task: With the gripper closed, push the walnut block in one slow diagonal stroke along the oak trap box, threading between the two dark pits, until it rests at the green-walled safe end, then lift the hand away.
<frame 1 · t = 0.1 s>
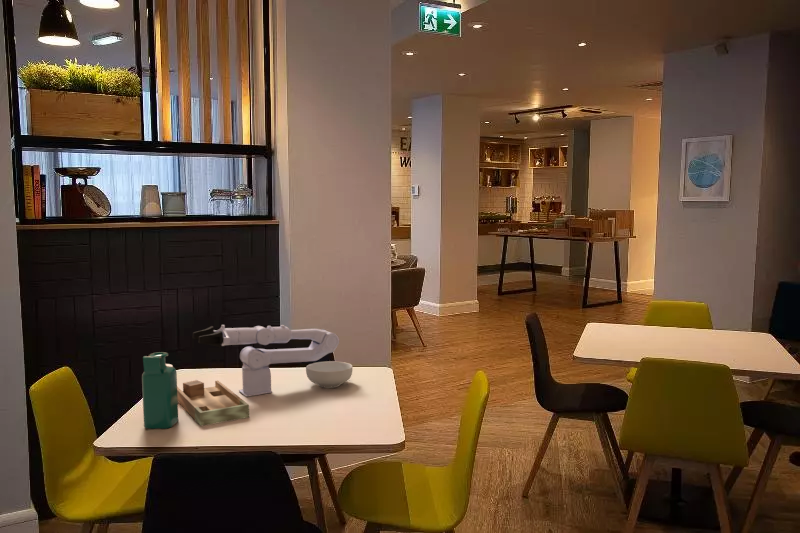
hand: (195, 337, 221), 22 cm above the table, tool horizontal, fingers open, 7 cm apart
trap box: (210, 407, 216), on the table
block: (193, 394, 224), point 2 cm above the table, touching trap box
green bottle: (160, 425, 199), on the table
coffee cup: (162, 413, 211), on the table
cereal bowl: (329, 385, 242), on the table
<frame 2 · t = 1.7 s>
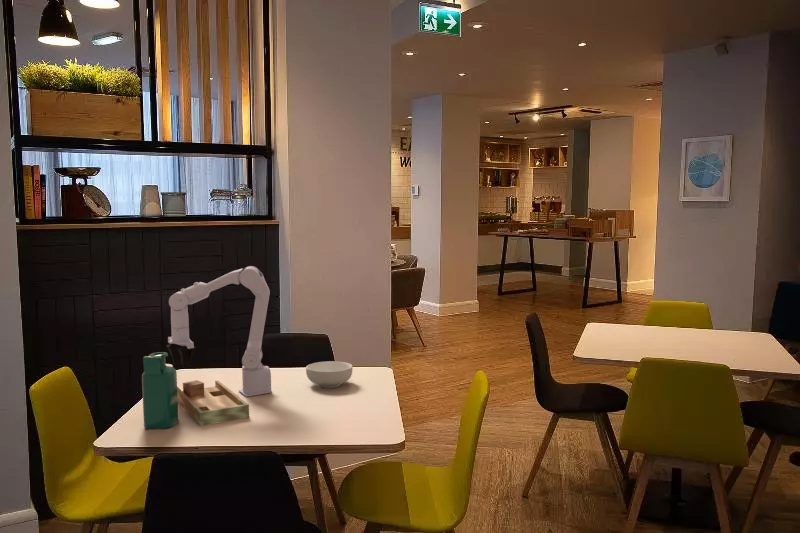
hand: (181, 366, 229), 10 cm above the table, tool pointing down, fingers open, 6 cm apart
nothing on the table moved.
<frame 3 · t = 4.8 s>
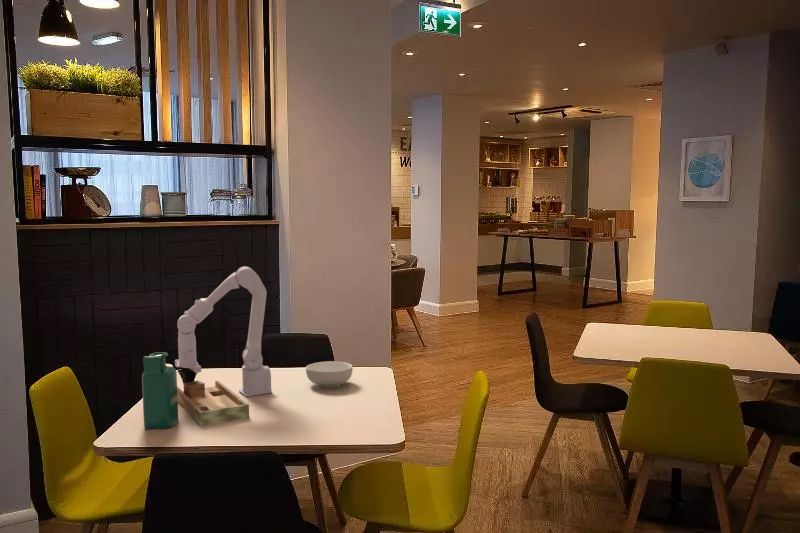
hand: (188, 389, 226), 3 cm above the table, tool pointing down, fingers closed
block: (194, 394, 223), point 2 cm above the table, touching gripper
everything else where it was.
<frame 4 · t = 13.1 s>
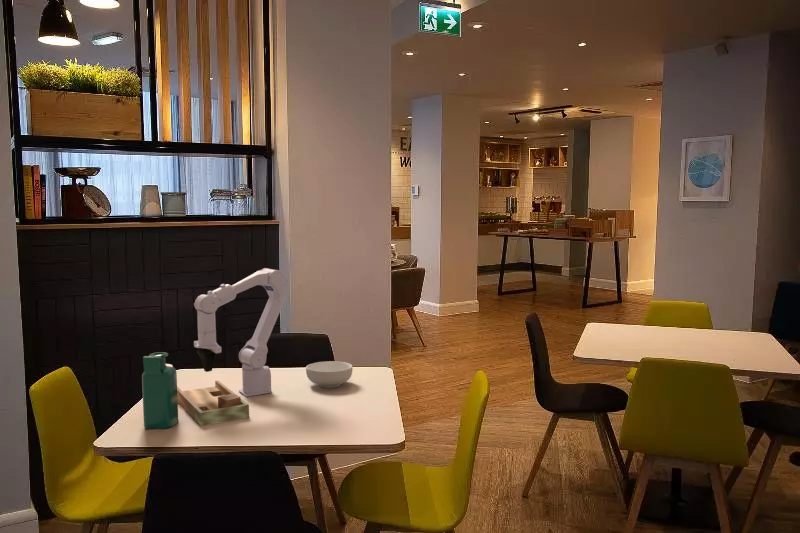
hand: (208, 371, 222), 10 cm above the table, tool pointing down, fingers closed
block: (229, 409, 207), point 2 cm above the table, touching trap box
everything else where it was.
at the end: block inside the target area (0.7 cm from its centre), point 2.0 cm above the table; block tilted 0° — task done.
